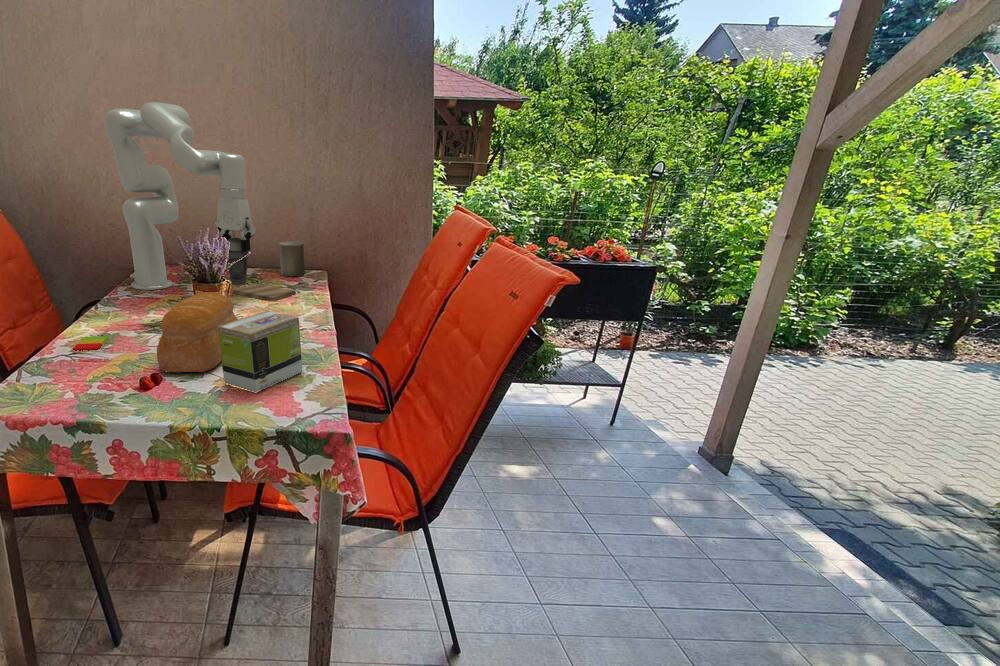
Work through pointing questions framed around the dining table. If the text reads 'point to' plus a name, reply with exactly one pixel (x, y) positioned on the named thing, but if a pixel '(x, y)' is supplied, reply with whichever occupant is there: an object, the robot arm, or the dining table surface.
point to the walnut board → (264, 292)
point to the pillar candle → (292, 258)
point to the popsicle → (90, 343)
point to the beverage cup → (239, 268)
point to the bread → (194, 333)
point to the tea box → (260, 350)
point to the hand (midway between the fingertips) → (236, 249)
